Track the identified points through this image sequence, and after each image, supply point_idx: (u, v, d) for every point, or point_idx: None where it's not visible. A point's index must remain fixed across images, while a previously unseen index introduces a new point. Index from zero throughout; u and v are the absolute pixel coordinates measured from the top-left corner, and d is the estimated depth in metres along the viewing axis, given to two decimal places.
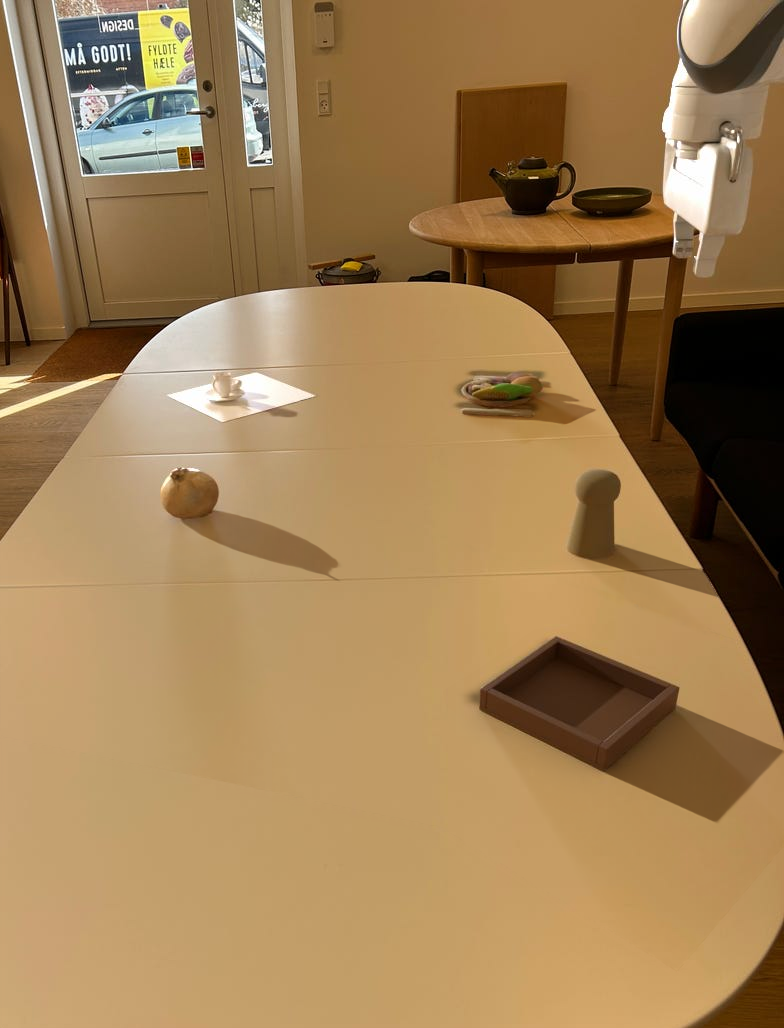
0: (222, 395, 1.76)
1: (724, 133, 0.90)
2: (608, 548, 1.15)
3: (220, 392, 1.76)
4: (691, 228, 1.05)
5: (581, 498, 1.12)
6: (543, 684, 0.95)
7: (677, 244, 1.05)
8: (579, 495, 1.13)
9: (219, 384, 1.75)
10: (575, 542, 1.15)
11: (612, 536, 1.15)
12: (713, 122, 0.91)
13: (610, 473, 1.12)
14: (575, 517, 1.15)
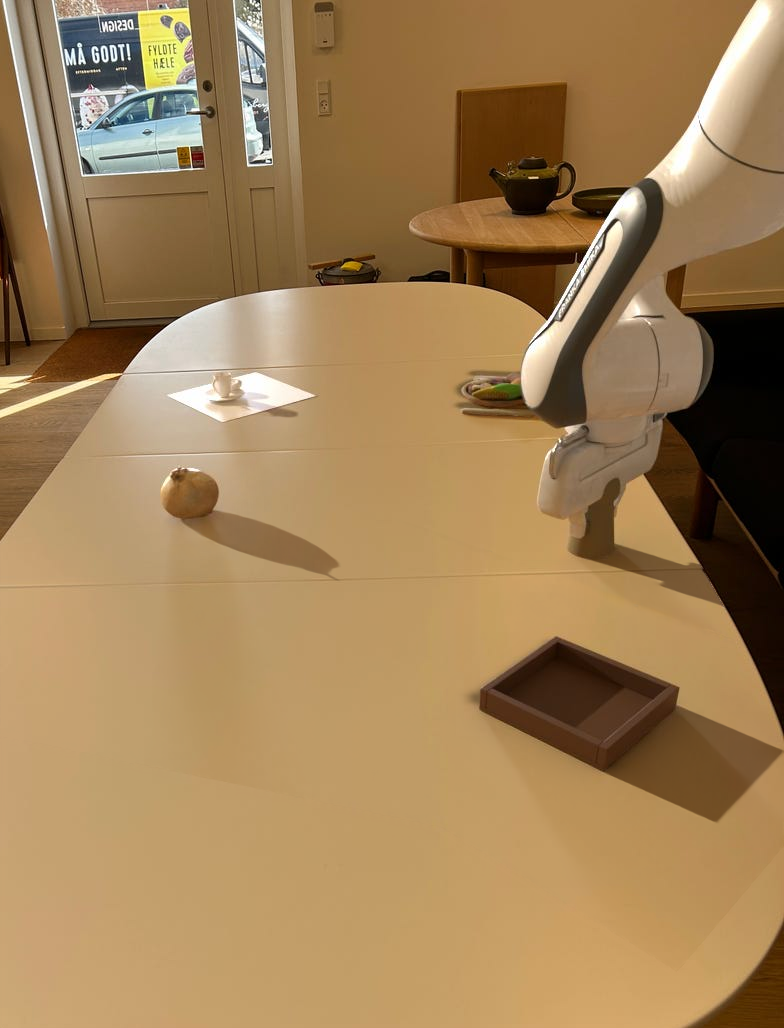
0: (222, 395, 1.76)
1: None
2: (608, 548, 1.15)
3: (220, 392, 1.76)
4: None
5: None
6: (543, 684, 0.95)
7: None
8: None
9: (219, 384, 1.75)
10: (575, 542, 1.15)
11: (612, 536, 1.15)
12: None
13: None
14: None
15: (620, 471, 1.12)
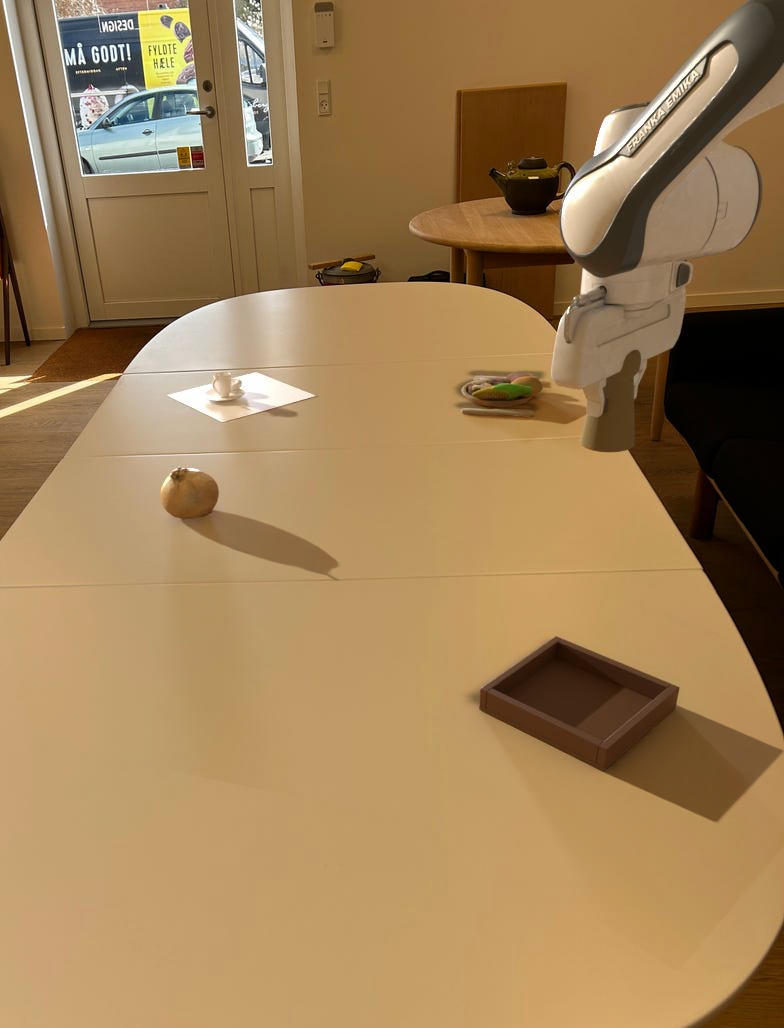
0: (222, 395, 1.76)
1: None
2: (628, 429, 1.07)
3: (220, 392, 1.76)
4: (637, 375, 1.08)
5: None
6: (543, 684, 0.95)
7: None
8: None
9: (219, 384, 1.75)
10: (592, 423, 1.07)
11: (632, 416, 1.07)
12: (593, 284, 0.99)
13: None
14: None
15: (640, 343, 1.04)
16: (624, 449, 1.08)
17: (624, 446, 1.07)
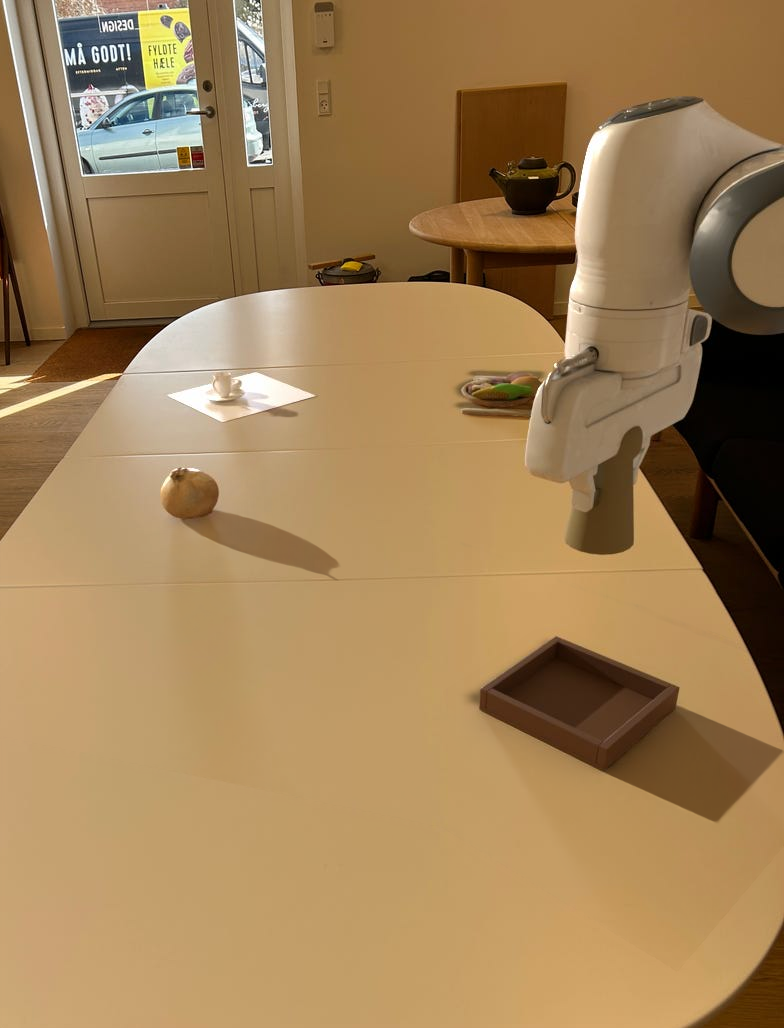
0: (222, 395, 1.76)
1: None
2: (625, 525, 0.82)
3: (220, 392, 1.76)
4: (637, 455, 0.83)
5: None
6: (543, 684, 0.95)
7: None
8: None
9: (219, 384, 1.75)
10: (578, 517, 0.83)
11: (631, 509, 0.82)
12: (580, 344, 0.74)
13: None
14: None
15: (643, 417, 0.79)
16: (620, 551, 0.83)
17: (620, 547, 0.83)
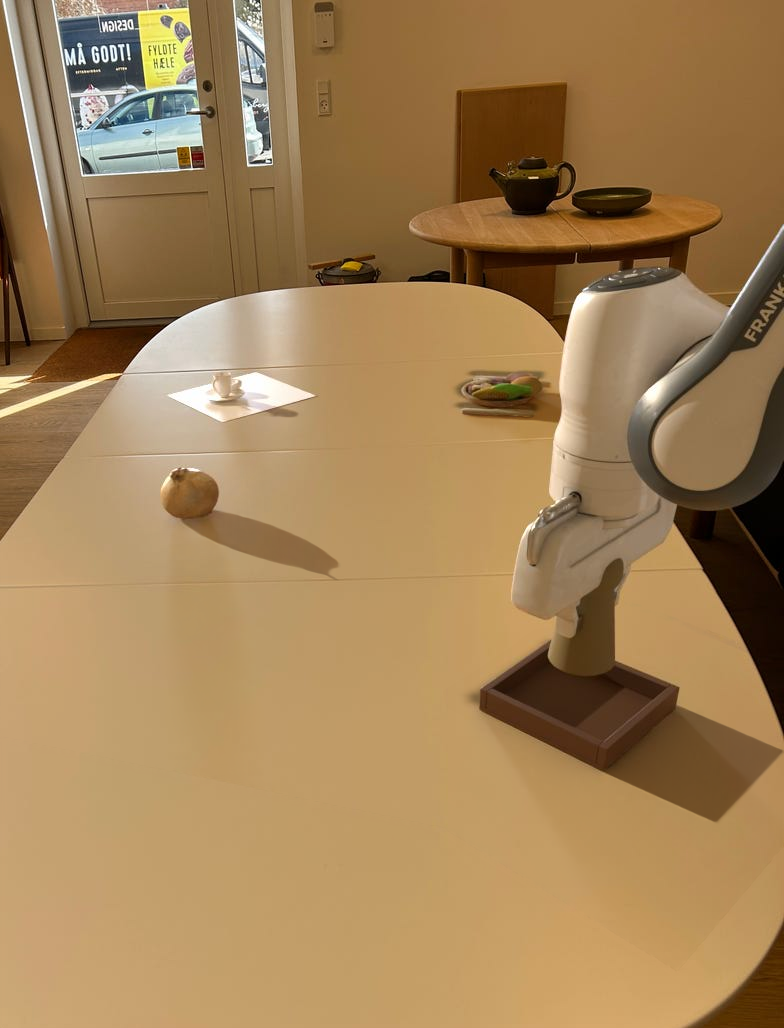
0: (222, 395, 1.76)
1: None
2: (607, 648, 0.86)
3: (220, 392, 1.76)
4: None
5: None
6: (543, 684, 0.95)
7: None
8: None
9: (219, 384, 1.75)
10: (562, 640, 0.86)
11: (612, 633, 0.86)
12: (564, 488, 0.78)
13: None
14: None
15: (624, 549, 0.83)
16: (602, 672, 0.87)
17: (602, 668, 0.86)
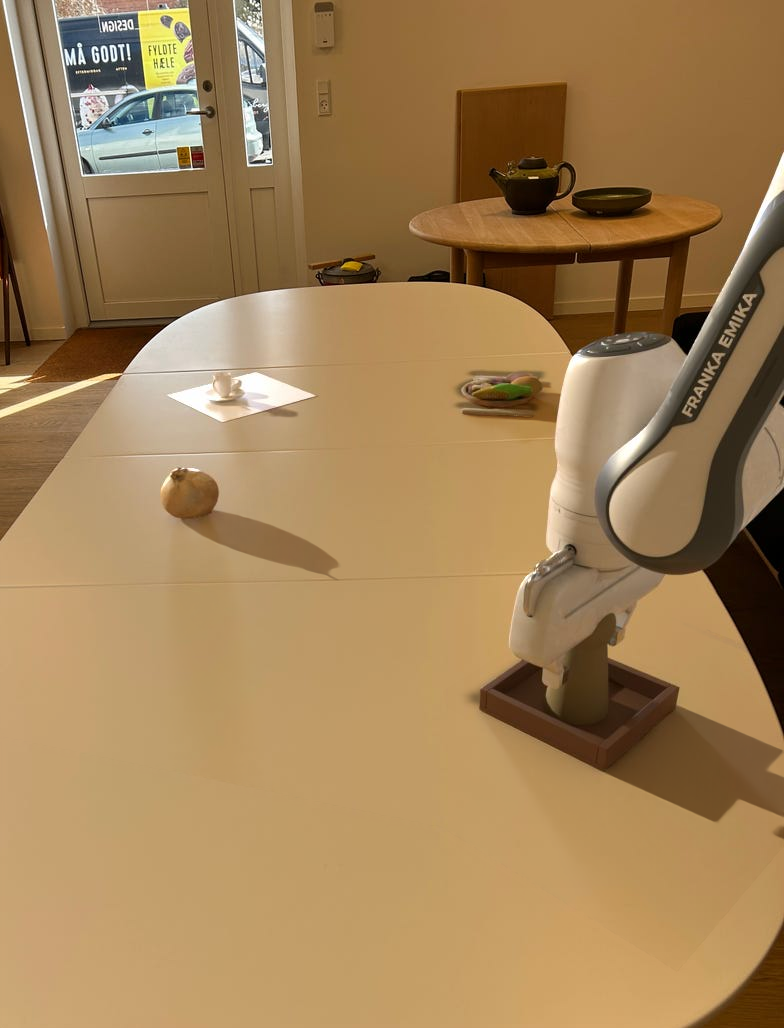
0: (222, 395, 1.76)
1: None
2: (600, 699, 0.89)
3: (220, 392, 1.76)
4: (625, 616, 0.91)
5: None
6: (543, 684, 0.95)
7: None
8: None
9: (219, 384, 1.75)
10: (557, 690, 0.89)
11: (605, 684, 0.89)
12: (560, 540, 0.81)
13: None
14: None
15: (619, 596, 0.86)
16: (596, 721, 0.90)
17: (596, 718, 0.89)
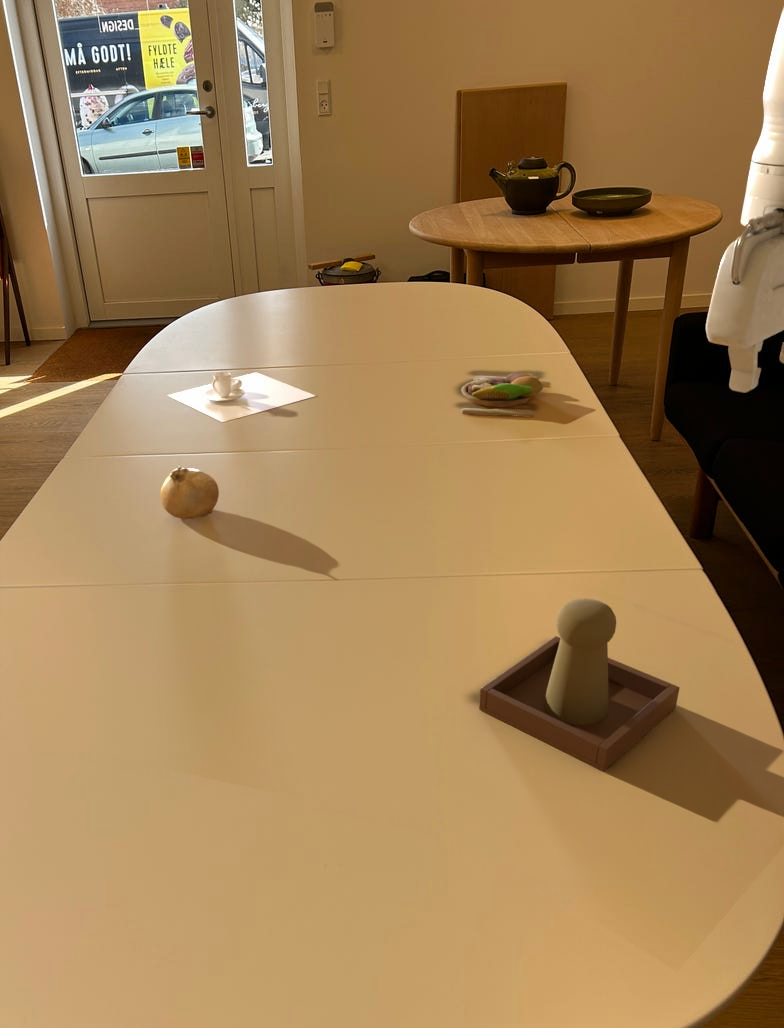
0: (222, 395, 1.76)
1: None
2: (600, 699, 0.89)
3: (220, 392, 1.76)
4: None
5: (565, 638, 0.86)
6: (543, 684, 0.95)
7: (782, 346, 0.85)
8: (562, 635, 0.87)
9: (219, 384, 1.75)
10: (557, 690, 0.89)
11: (605, 684, 0.89)
12: (765, 207, 0.74)
13: (602, 606, 0.86)
14: (557, 659, 0.89)
15: None
16: (596, 721, 0.90)
17: (596, 718, 0.89)
